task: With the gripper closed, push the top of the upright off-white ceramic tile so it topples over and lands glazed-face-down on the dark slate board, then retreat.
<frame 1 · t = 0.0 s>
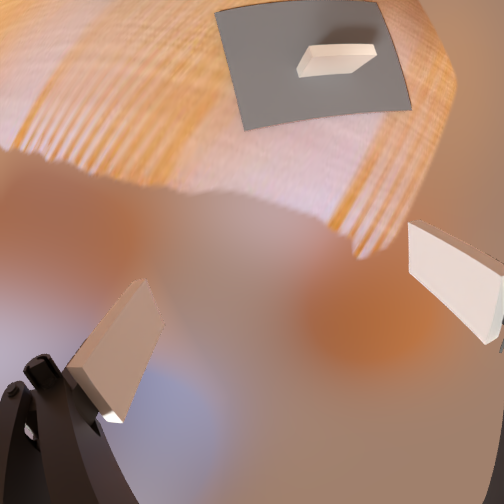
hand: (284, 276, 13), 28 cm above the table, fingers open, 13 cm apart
tile: (324, 70, 32), point 1 cm above the table, touching slate board
slate board: (317, 54, 32), on the table
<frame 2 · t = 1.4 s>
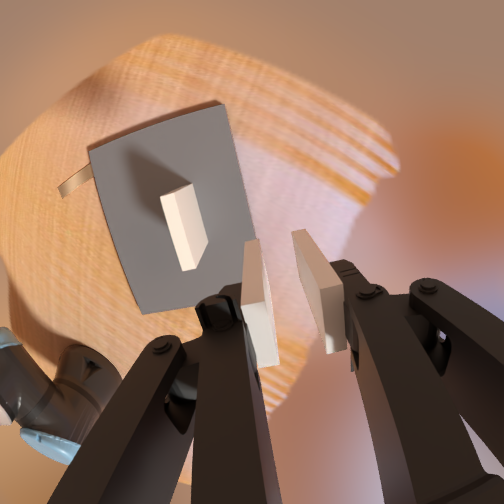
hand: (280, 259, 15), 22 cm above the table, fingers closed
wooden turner: (118, 154, 35), on the table
tile: (194, 214, 36), point 1 cm above the table, touching slate board
slate board: (175, 217, 37), on the table
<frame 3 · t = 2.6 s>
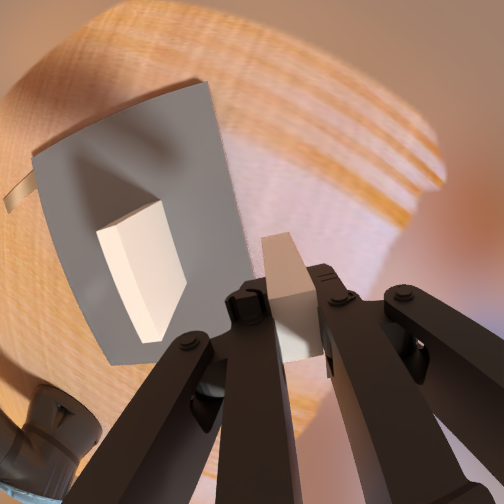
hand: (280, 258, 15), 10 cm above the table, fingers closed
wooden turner: (68, 155, 23), on the table
tile: (166, 244, 24), point 1 cm above the table, touching slate board
slate board: (142, 247, 26), on the table
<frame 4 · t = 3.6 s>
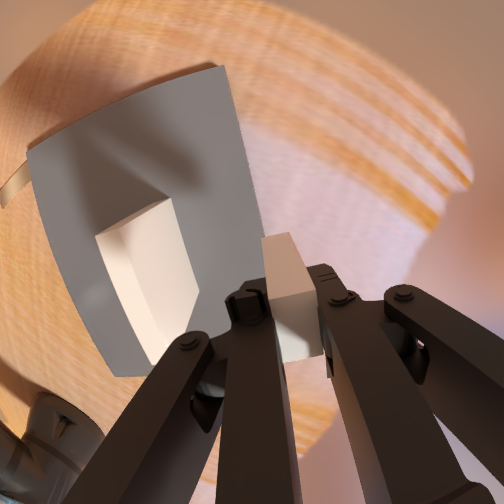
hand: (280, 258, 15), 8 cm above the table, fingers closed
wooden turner: (65, 141, 20), on the table, touching slate board
tile: (176, 248, 22), point 1 cm above the table, touching slate board
slate board: (148, 251, 23), on the table
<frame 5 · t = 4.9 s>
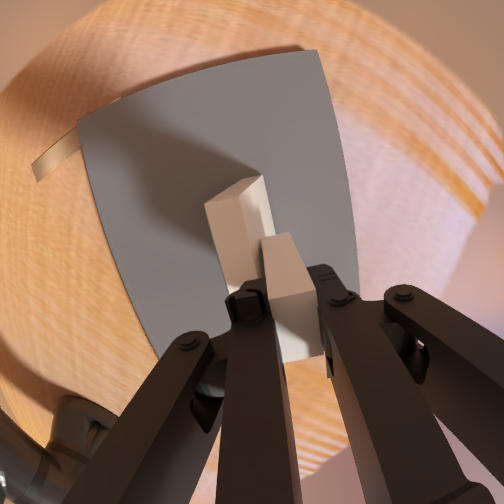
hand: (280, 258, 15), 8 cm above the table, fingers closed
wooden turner: (128, 107, 20), on the table, touching slate board
tile: (264, 228, 21), point 1 cm above the table, tilted 9°, touching slate board
slate board: (227, 232, 22), on the table
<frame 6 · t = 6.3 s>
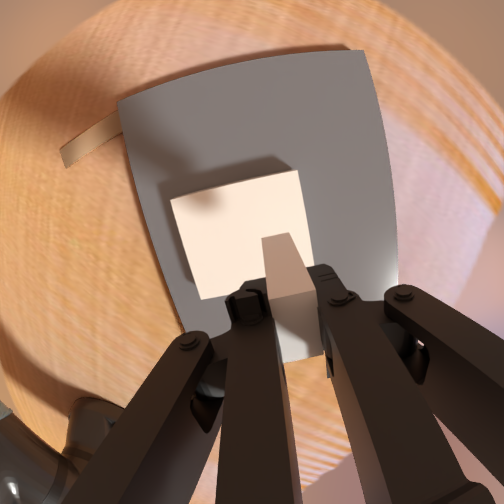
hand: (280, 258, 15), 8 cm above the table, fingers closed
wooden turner: (176, 94, 20), on the table, touching slate board
tile: (305, 223, 20), point 2 cm above the table, tilted 90°, touching slate board
slate board: (276, 222, 22), on the table
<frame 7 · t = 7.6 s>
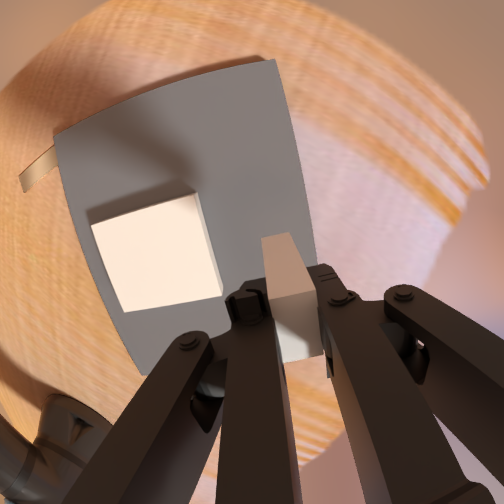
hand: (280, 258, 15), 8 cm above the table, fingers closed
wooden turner: (106, 123, 20), on the table
tile: (209, 244, 21), point 2 cm above the table, tilted 90°, touching slate board
slate board: (189, 242, 23), on the table
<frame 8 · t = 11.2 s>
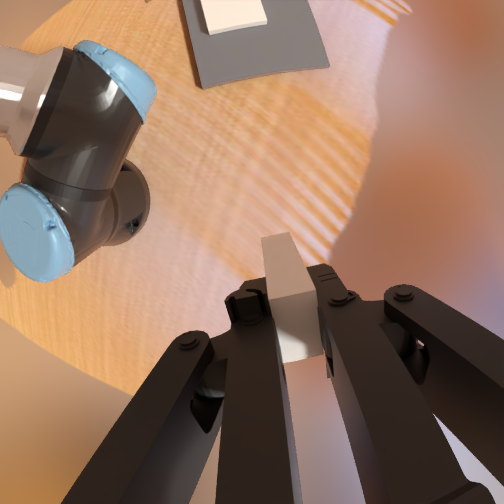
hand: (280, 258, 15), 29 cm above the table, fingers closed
tile: (261, 4, 30), point 2 cm above the table, tilted 90°, touching slate board
slate board: (248, 11, 32), on the table
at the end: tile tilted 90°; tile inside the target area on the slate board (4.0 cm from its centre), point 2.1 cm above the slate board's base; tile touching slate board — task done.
